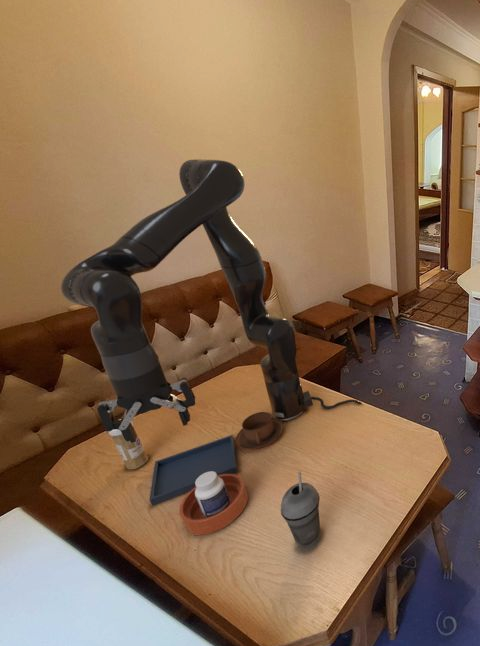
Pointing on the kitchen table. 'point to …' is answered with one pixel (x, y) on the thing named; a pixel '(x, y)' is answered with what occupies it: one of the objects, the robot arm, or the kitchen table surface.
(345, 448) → the kitchen table surface
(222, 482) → the pill bottle
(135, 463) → the sprinkles bottle
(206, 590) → the kitchen table surface
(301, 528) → the beverage cup
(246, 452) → the kitchen table surface
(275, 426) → the cup and saucer
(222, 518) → the bowl
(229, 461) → the tray
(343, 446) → the kitchen table surface
